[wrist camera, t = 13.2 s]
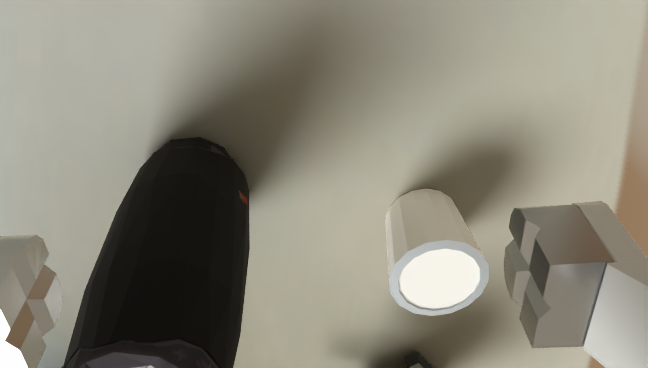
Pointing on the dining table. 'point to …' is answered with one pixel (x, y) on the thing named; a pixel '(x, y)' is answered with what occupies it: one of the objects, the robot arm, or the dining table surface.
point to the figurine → (416, 361)
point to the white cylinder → (432, 255)
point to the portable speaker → (170, 267)
